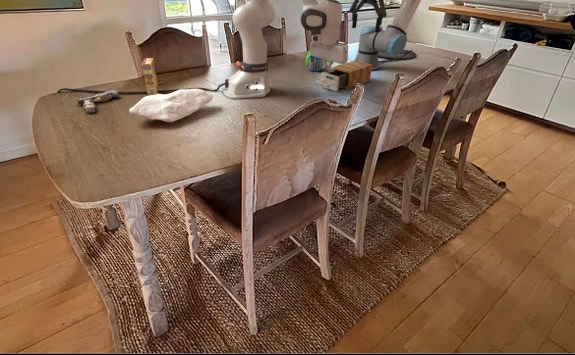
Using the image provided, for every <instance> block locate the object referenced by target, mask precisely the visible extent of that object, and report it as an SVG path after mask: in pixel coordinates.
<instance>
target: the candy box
mask: <svg viewBox="0 0 575 355" xmlns="http://www.w3.org/2000/svg"><path fill="white" fill-rule="evenodd" d="M141 66H142V73H143V78H144V82H145V87H146V91H147V93H146V94H147V96H150V95H156V94H159V93H158V91H160V89H159V84H158V79H157V73H156V66H155V62H154V58H153V57H151V58H150V57H149V58H146V57H145V58H143V60H142V63H141Z"/></svg>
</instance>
